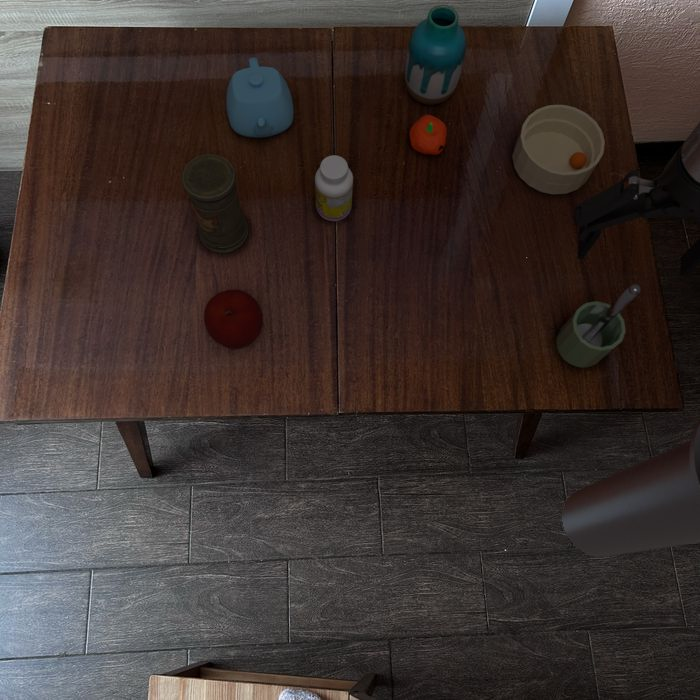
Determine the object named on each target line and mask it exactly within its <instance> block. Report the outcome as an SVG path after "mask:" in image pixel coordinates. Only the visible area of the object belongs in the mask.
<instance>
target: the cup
mask: <svg viewBox="0 0 700 700" xmlns="http://www.w3.org/2000/svg"><path fill="white" fill-rule="evenodd" d="M611 305H612V304H609V303H606V302H602V301H598V300H595V301H590V302H585V303H584V304H582V305H581V306H580V307H578V308H577V309H576V310H575V312H574V313H572V315H571V316H570V317H569V318H568V319H567V321H566V322H564V324H563V325H562V326H561V328H560V330H559V332H558V333H557V336H556V342H555V343H556V349H557V352H558V353H559V355H560V357H561V358H562V359H563V360H564V361H565V362H566V363H567V364H569V365H570V366H574V367H575V368H591V367H593V366H596V365H597V364H598V363H599V362H601V361H602V360H603V359H604V358H605V357H606V356H608V355H609V354H610V353H611V352H612V351H613V350H614V349H615V348H617V346H619V345H620V344H621V343H622V342H623V340H624V338H625V334H626V332H627V331H626V323H625V320H624V317H623V316H622V314H621V312H620V313H619V314H618V315H617V316H616V317H615V318H614V319H613V320H611V321H610V322H609V323H608V324H607V325H606V326H605V327H604V328H603V329H602V330H601V331H600V333H601V335H602V344H601V346H600V347H599V346H595V345H591V344H590V343H588V342H587V341H586V340H584V339H583V338H582V336H581V335H580V333H579V331H578V330H577V326H578V325H580V324H591V325H593V324H594V323H595V322H596V321H597V320H598V319H599V318H600V317H601V316H602V315H603V314H604V313H605V312H606V311H607V310H608V308H609V307H610V306H611Z"/></svg>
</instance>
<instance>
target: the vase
mask: <svg viewBox="0 0 700 700" xmlns="http://www.w3.org/2000/svg"><path fill="white" fill-rule="evenodd" d="M466 39H467V37H466V34H465V31H464V30H463V28H462V27H461V25H460V24H459V14H458V12H457V10H456V9H455V8H453V7H452V6H450V5H446V4H439V5H435V6H433V7H432V8H431V9H430V10H429V11H428V14H427V17H426V19H425V18H424V19H423V20H422V21H420V22H419V23H418V24H417V25H416V26H415V27H414V30H413V31H412V33H411V37H410V39H409V42H408V47H407V54H406V59H405V70H404V80H405V86H406V89H407V92H408V93H409V95H410V97H411V98H413V99H414V100H415V101H416V102H418V103H420V104H423V105H427V106H433V105H434V106H435V105H439V104H442V103H444V102H445V101H447V100H448V99H449V98H450V97H451V96H453V94H454V92H455V91H456V88H457V86H458V83H459V81H460V78H461V74H462V71H463V66H464V63H465V57H466V52H467V40H466Z"/></svg>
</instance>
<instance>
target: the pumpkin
mask: <svg viewBox="0 0 700 700" xmlns="http://www.w3.org/2000/svg"><path fill="white" fill-rule="evenodd" d="M447 131H448V129H447V126H446V124H445V122H444V121H442V120H441V119H440V118H438V117H436V116H434V115H431V114H425V115H423V116H420V118H419V119H418V120H417V121H415V123H413V124H412V126H411V127H410V128H409V135H408V136H409V141H410V145H411V147H412V149H414V150H415V151H416V152H418V153H419V154H420V153H421V154H422V155H432V156H438V155H439V154H441V153H442V152H443V150H444V149H445V147H446V146H447V143H448V141H447V139H448V133H447Z"/></svg>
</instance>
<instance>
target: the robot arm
mask: <svg viewBox="0 0 700 700" xmlns="http://www.w3.org/2000/svg"><path fill="white" fill-rule="evenodd" d="M640 175H641V174H640V171H638V170H630V171H629V172H628V173H627V174H626V175H625V176H624V177H623V178H622V179H621V180H620V181H618V182H617V183H614V184H613V185H611V186H610V187H607V188H606V189H604V190H602V191H600V192H599V193H597V194H595V195H593V196H591V197H590V198H588V199H586V200H584V201H582V202H581V203H578V204H577V205H576V206H575V209H574V220H573V221H574V222H573V223H574V224H573V225H574V226H575V227H578V240H577V241H578V242H577V256H576V257H577V259H580V260H584V258H585V257H586V255H588V253H589V252H590V250H591V249H592V247H593V246H594V245H595V244H596V242H597V241H598V239H599V238H600V236H601V235H602V230H604V229H607V228H610V227H614V226H617V225H620V224H623V223H627V222H630V221H633V220H636V219H640V218H644V219H645V220H648V219H652V218H656V217H658V216H662V217H671V218H672V217H674V218H677V219H679V220H680V219H681V220H686V221H688V219H693V220H694V221H695V223H696V225H697V227H698V228H700V121H699V122H698V124H697V125H696V126H695V127H694V129H692V131H691V133H690V134H689V135H688V137H687V138H686V139H685V140H684V142H683V143H682V144H681V146H680V147H679V148H677V150H676V152H675V153H674V154H673V156H672V157H671V158H670V159H669V161H668V162H667V164H666V166H665V167H664V168H663V171H662V173H661V174H660V175H658V176H657V177H655V178H653V179H652V180H649V179H644V178H640V177H641V176H640ZM651 203H652V207H651ZM699 265H700V237H699V239H697V240H696V241H695V242H694V244H692V245H691V246H690V247H689V248H688V249H687V250H686V251H685V252H684V253H683V254H682V255H681V257H680V276H682V277H687V276H688V275H689V274H690V273H692V272H693V271H694V270H695V269H696V268H697V267H698V266H699Z"/></svg>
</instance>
